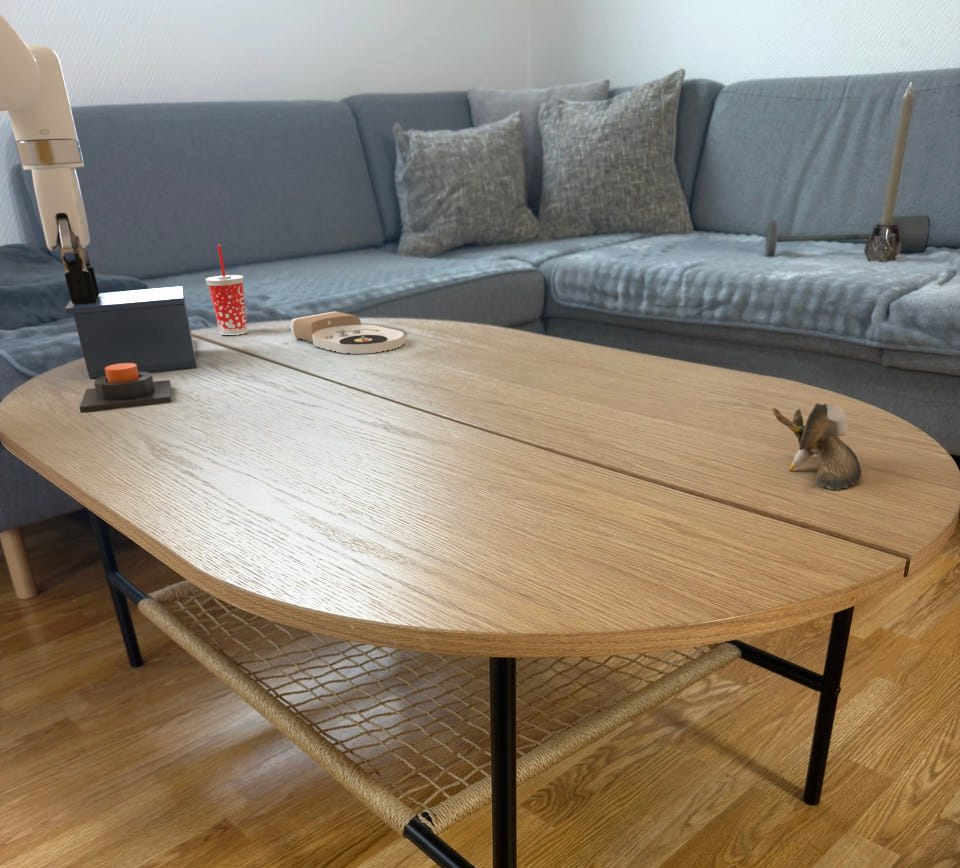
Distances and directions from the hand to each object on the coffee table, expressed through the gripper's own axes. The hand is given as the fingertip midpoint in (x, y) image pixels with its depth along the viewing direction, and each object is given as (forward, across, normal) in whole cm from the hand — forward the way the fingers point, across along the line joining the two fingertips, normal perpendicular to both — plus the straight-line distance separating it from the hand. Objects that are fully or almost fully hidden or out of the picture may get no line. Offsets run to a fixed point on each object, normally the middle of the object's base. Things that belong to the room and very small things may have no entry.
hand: (86, 298), depth 123 cm
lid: (+1, 0, +5) cm, 6 cm away
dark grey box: (+10, 0, +6) cm, 11 cm away
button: (+6, +27, +5) cm, 28 cm away
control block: (+10, +27, +5) cm, 29 cm away
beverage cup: (+10, -18, +20) cm, 29 cm away
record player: (+10, 0, +37) cm, 38 cm away
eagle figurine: (+10, +78, +65) cm, 102 cm away
